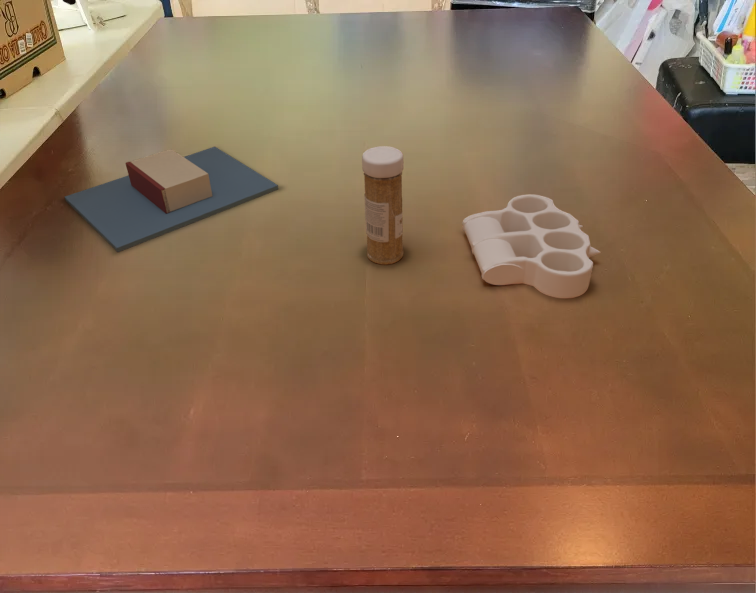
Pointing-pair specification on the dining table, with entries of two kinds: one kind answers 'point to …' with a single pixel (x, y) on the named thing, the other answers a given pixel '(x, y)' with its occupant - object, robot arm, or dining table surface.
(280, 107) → the dining table surface
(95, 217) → the mat
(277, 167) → the dining table surface
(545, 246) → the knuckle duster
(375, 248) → the sprinkles bottle
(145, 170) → the book
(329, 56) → the dining table surface
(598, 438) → the dining table surface
